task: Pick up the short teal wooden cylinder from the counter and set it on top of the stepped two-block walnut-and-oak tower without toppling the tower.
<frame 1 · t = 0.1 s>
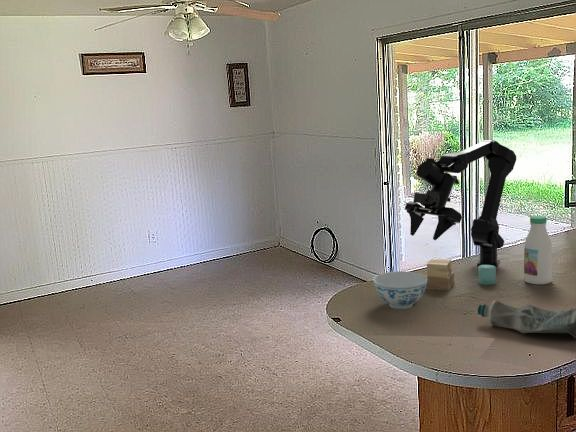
hand: (422, 237, 186), 15 cm above the breakfast bar, fingers open, 9 cm apart
top block: (439, 274, 186), point 4 cm above the breakfast bar, touching base block
milk bottle: (537, 281, 185), on the breakfast bar
teal cylinder: (487, 282, 187), on the breakfast bar
base block: (439, 286, 187), on the breakfast bar, touching top block
chinaware: (401, 305, 172), on the breakfast bar
crushed plastic bottle: (530, 331, 149), on the breakfast bar
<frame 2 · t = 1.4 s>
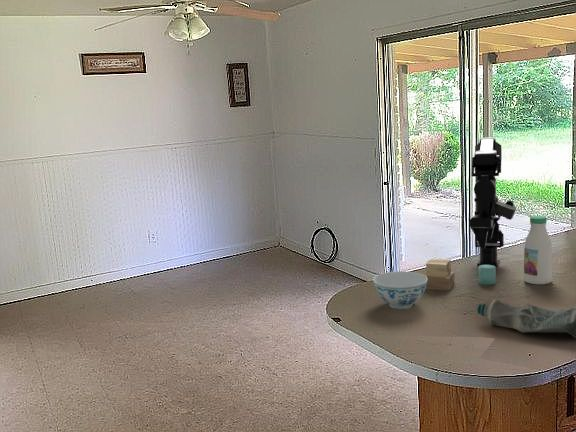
hand: (486, 244, 184), 12 cm above the breakfast bar, fingers open, 9 cm apart
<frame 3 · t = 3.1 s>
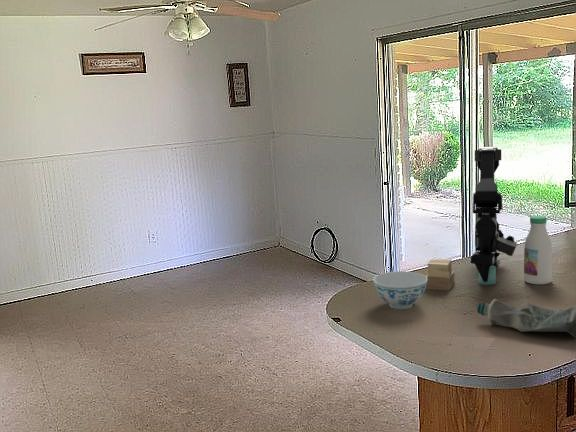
hand: (486, 279, 186), 1 cm above the breakfast bar, fingers closed on teal cylinder, 5 cm apart
teal cylinder: (487, 282, 187), on the breakfast bar, touching gripper
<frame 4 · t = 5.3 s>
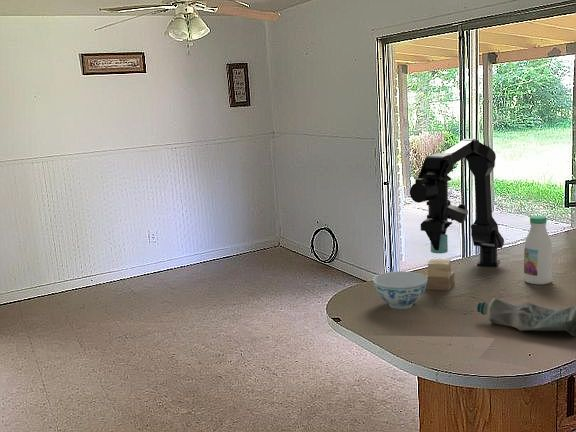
hand: (438, 248, 184), 12 cm above the breakfast bar, fingers closed on teal cylinder, 5 cm apart
top block: (439, 274, 186), point 4 cm above the breakfast bar
teal cylinder: (439, 251, 184), point 11 cm above the breakfast bar, touching gripper
base block: (439, 286, 187), on the breakfast bar
when the fingers open (10 cm above the breakfast bar, at t = 6.0 s): teal cylinder drops 1 cm, resting on top block.
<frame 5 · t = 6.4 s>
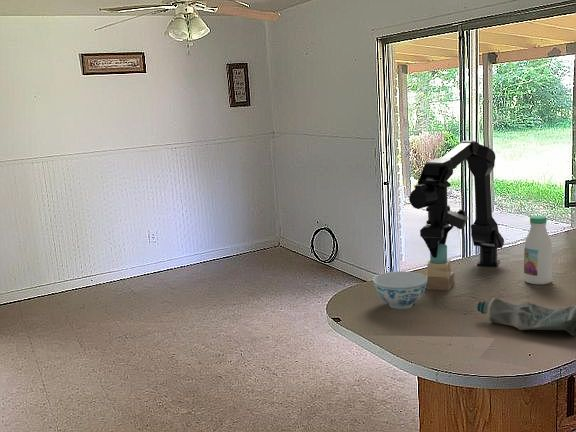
hand: (438, 253, 185), 10 cm above the breakfast bar, fingers open, 9 cm apart
top block: (439, 274, 186), point 4 cm above the breakfast bar, touching base block, teal cylinder
teal cylinder: (438, 261, 185), point 8 cm above the breakfast bar, touching top block
base block: (439, 286, 187), on the breakfast bar, touching top block
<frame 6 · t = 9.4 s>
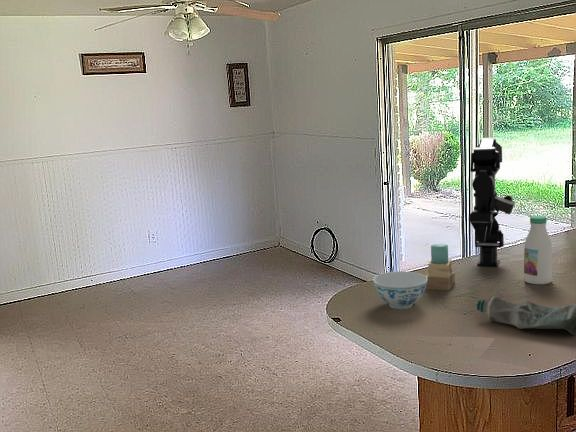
hand: (485, 238, 187), 13 cm above the breakfast bar, fingers open, 9 cm apart
at the end: teal cylinder 0.1 cm off-centre on the top block, point 4.0 cm above the top block's base; top block 0.3 cm off-centre on the base block, point 4.0 cm above the base block's base; teal cylinder tilted 0° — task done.
